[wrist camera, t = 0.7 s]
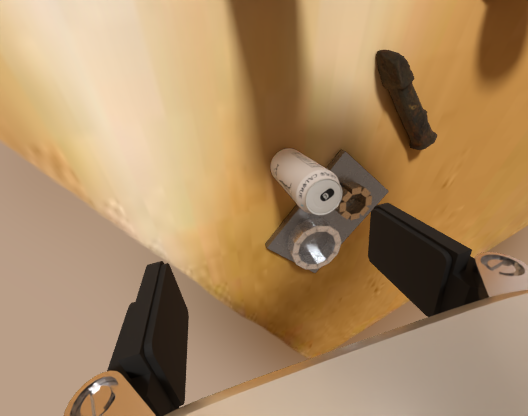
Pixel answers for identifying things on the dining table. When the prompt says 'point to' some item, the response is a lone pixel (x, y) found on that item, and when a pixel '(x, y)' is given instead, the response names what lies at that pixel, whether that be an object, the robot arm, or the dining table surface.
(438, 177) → the dining table surface
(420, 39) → the dining table surface
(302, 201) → the energy drink can
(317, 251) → the manifold board
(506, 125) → the dining table surface
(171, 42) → the dining table surface
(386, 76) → the hand tool
